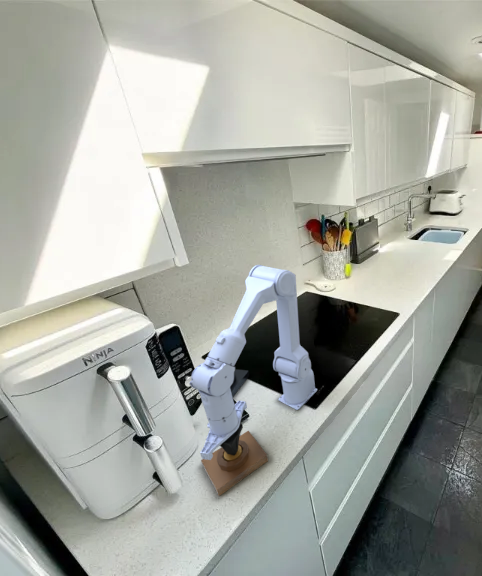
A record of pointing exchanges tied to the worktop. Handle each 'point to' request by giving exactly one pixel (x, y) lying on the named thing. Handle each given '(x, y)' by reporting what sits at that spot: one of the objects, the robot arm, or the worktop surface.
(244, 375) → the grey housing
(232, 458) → the brass button
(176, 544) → the worktop surface
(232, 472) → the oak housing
